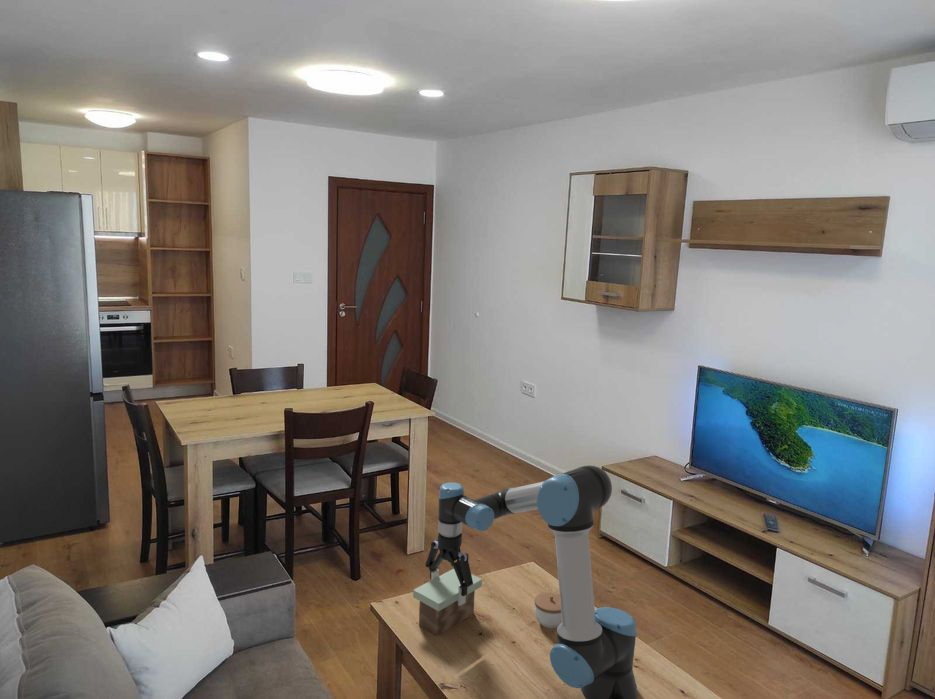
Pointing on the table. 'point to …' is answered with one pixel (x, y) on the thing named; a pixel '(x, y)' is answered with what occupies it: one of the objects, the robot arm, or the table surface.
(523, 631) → the table surface
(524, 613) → the table surface
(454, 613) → the box
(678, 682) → the table surface
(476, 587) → the lid
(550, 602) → the lidded jar
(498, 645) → the table surface
